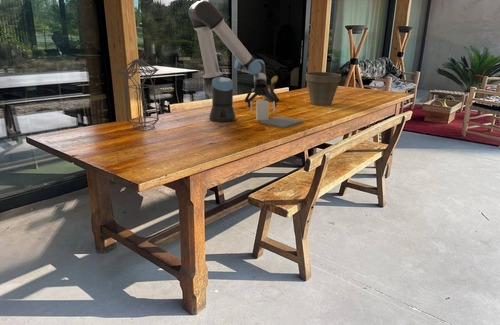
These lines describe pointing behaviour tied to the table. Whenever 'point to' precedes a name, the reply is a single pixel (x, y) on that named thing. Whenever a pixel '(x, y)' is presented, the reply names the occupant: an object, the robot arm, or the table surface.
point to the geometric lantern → (139, 90)
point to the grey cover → (262, 110)
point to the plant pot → (322, 87)
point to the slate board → (281, 122)
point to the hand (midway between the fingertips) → (262, 111)
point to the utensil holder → (271, 87)
